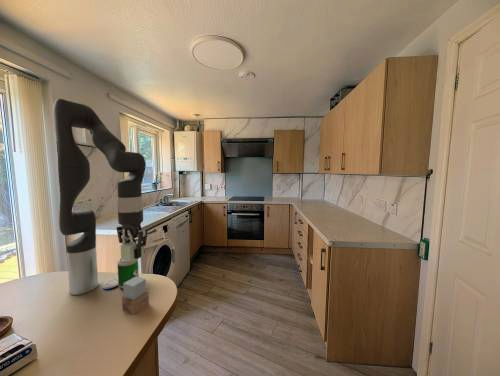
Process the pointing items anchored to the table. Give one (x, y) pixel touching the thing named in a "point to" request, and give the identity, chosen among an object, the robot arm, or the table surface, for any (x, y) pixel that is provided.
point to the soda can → (127, 271)
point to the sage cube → (129, 252)
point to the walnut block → (135, 303)
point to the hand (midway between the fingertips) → (132, 256)
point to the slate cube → (134, 287)
